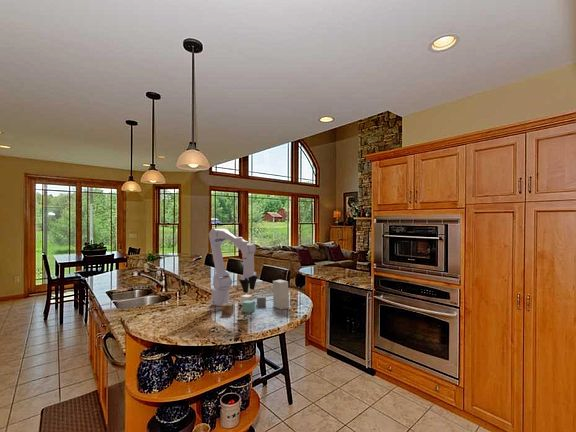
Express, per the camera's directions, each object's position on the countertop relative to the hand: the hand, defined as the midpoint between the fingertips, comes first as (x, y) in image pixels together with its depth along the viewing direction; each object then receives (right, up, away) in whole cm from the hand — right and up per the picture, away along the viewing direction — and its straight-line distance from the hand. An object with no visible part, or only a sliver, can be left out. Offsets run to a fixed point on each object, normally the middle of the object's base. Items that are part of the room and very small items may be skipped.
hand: (248, 291), depth 161 cm
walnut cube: (-10, -11, -5) cm, 16 cm away
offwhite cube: (-3, -11, +13) cm, 17 cm away
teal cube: (0, -11, 0) cm, 11 cm away
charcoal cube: (+6, -11, +10) cm, 16 cm away
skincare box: (+17, -11, +6) cm, 21 cm away
